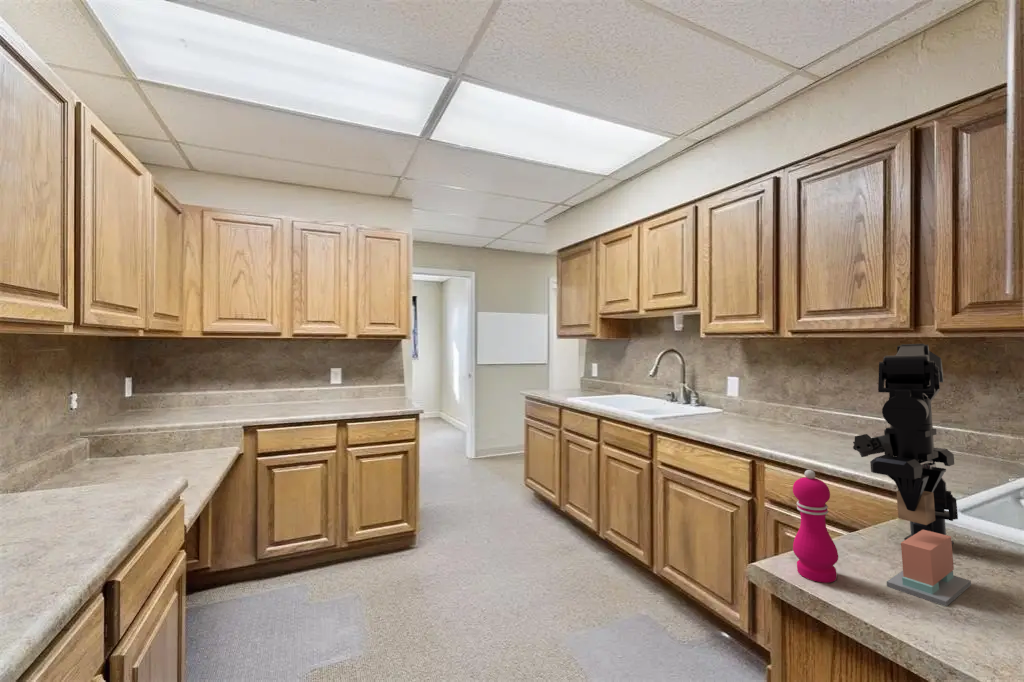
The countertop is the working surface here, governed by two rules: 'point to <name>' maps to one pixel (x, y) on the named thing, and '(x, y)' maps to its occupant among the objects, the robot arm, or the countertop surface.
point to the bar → (927, 557)
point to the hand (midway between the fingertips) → (916, 508)
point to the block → (918, 509)
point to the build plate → (932, 588)
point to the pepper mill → (814, 531)
